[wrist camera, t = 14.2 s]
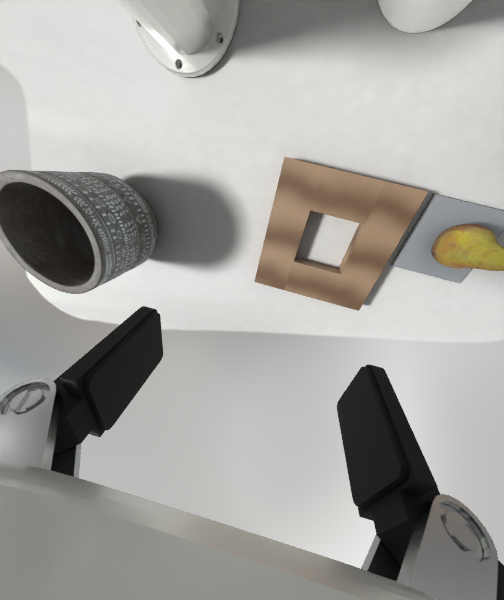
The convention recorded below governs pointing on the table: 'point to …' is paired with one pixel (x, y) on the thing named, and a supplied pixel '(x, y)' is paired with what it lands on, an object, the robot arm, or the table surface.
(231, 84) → the table surface
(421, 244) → the coaster
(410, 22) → the tall pillar cylinder
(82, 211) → the planter
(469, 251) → the fruit
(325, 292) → the block with square hole
